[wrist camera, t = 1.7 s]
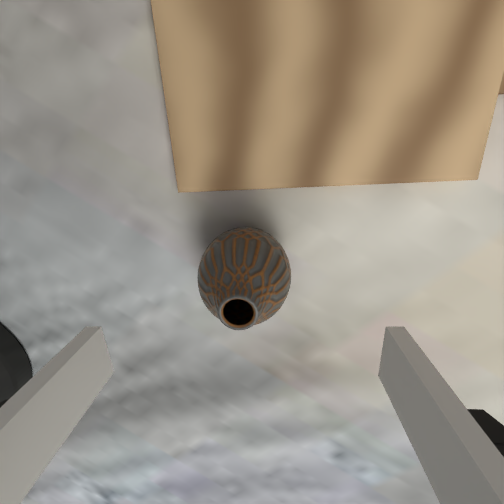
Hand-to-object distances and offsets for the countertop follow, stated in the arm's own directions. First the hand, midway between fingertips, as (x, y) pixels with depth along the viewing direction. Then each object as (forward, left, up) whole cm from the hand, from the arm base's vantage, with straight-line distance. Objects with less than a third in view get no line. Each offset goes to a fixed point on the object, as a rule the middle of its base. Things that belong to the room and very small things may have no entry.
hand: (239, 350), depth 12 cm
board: (+7, +13, -12) cm, 19 cm away
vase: (0, 0, -12) cm, 12 cm away
